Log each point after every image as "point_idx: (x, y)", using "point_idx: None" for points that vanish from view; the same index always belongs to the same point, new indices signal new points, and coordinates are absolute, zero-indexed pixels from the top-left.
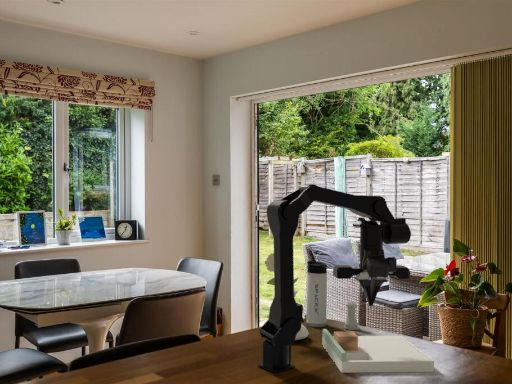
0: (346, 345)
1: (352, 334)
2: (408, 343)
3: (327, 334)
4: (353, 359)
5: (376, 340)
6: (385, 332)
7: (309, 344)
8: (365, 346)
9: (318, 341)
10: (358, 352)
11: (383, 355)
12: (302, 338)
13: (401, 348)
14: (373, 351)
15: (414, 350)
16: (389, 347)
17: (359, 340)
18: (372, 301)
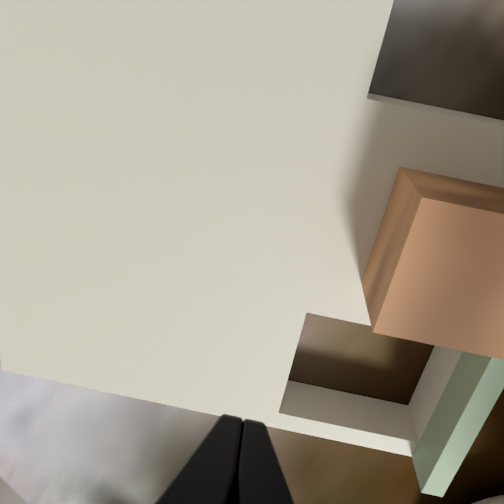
0: (490, 192)
1: (429, 260)
2: (6, 234)
3: (493, 399)
4: (449, 112)
5: (173, 328)
6: (36, 500)
7: (472, 448)
8: (298, 237)
9: (400, 473)
10: (422, 121)
11: (285, 7)
12: (493, 497)
13: (87, 145)
14: (305, 121)
15: (16, 80)
16: (156, 183)
17: (270, 351)
18: (224, 455)
